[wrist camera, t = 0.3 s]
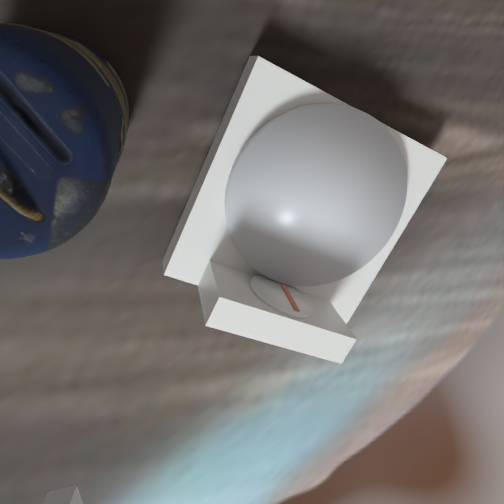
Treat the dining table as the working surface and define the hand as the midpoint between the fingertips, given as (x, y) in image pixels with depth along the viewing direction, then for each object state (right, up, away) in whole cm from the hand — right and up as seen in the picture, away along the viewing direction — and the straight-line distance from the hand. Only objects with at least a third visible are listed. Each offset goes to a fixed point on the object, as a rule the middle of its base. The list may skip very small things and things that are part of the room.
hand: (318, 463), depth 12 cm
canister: (-16, +17, +19) cm, 30 cm away
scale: (+2, +10, +26) cm, 28 cm away
